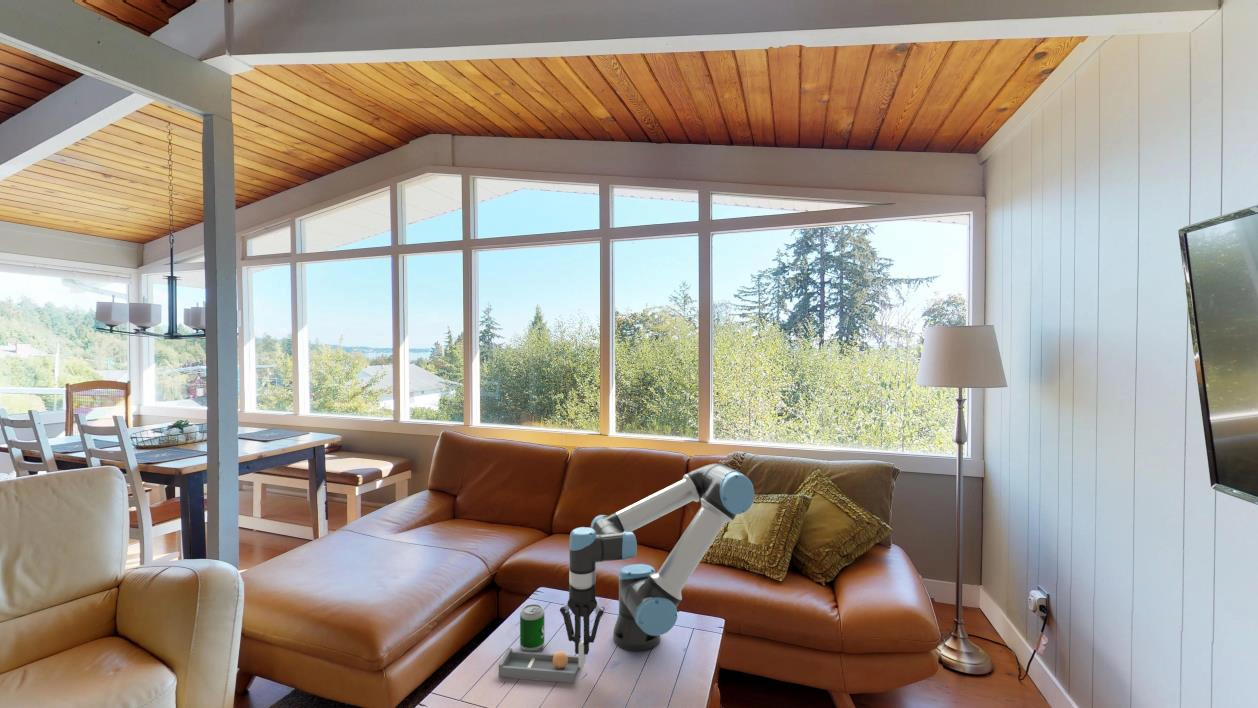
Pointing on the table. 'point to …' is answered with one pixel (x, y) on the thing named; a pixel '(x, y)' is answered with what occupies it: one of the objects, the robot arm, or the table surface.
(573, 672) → the lane
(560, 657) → the ball
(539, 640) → the soda can
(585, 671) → the table surface
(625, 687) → the table surface
